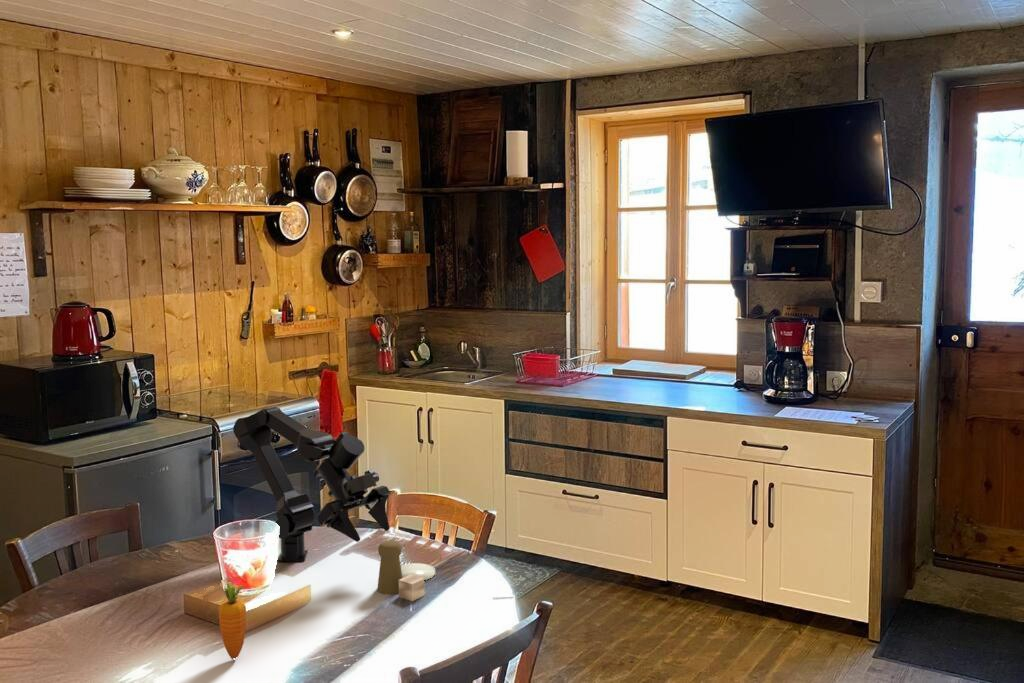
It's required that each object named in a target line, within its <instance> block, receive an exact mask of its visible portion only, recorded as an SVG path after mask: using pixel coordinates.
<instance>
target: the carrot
mask: <svg viewBox="0 0 1024 683" xmlns="http://www.w3.org/2000/svg"><path fill="white" fill-rule="evenodd" d="M244 587H245V586H244V585H240V586H238V587H237V585H235V584H233V585H232V582H231V581H230V582H228V583H226V587H225V588H224V594H225V596H226V599H227V600H226V601H224V602H223V603H221V604H220V605H219V607H218V617H219V629H220V634H221V637H222V642H223V645H224V648H225V650H226V652H227V655H228V656H229V658H230V659H231V658H236V657H238V658H239V655H240V654H241V651H242V649H243V646H244V642H245V637H246V632H247V628H246V627H247V608H246V604H245V602H244V601H242V600H239V599H238V598H239V595H238V594H239V592H240V591H241V590H242V589H243V588H244Z"/></svg>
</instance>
